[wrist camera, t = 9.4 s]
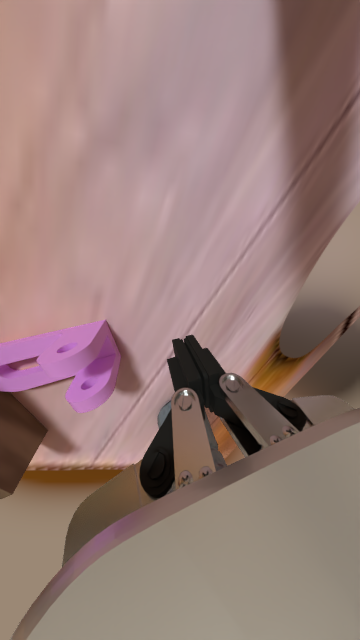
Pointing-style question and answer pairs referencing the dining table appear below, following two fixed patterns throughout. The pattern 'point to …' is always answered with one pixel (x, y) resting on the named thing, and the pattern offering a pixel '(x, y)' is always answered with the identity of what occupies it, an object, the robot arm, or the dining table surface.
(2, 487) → the walnut board
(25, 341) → the bracket
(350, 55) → the dining table surface
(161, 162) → the dining table surface
